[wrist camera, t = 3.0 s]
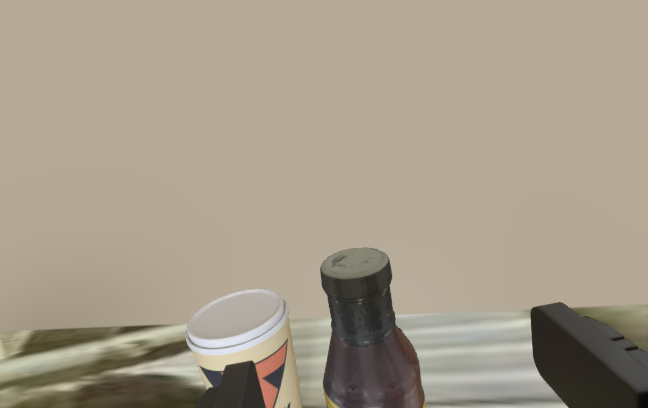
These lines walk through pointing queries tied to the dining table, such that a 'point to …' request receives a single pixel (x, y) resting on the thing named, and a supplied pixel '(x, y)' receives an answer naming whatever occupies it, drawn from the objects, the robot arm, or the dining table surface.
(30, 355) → the dining table surface
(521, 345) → the dining table surface
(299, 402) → the coffee cup
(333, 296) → the sauce bottle
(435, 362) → the dining table surface
